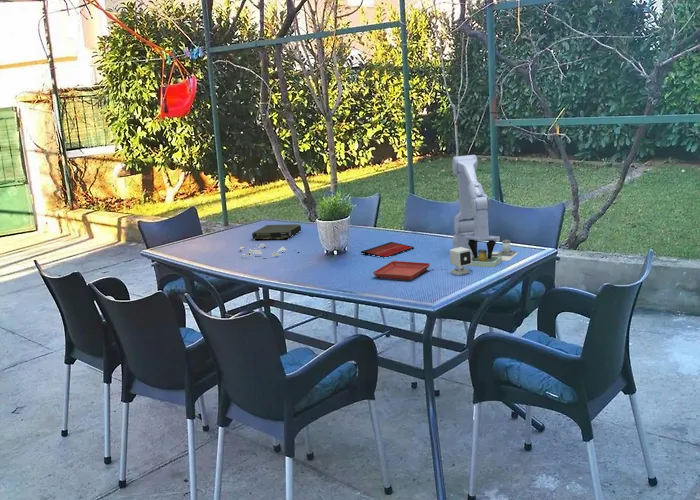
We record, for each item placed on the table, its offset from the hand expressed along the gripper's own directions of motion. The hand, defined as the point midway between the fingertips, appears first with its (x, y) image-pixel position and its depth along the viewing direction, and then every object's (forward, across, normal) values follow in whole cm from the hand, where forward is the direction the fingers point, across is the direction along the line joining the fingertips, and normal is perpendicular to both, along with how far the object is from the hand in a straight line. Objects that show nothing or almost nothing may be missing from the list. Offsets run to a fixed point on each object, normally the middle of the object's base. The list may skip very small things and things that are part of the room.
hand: (482, 258), depth 287 cm
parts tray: (+3, 0, 0) cm, 3 cm away
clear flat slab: (+4, -115, +2) cm, 115 cm away
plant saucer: (+4, -28, -19) cm, 34 cm away
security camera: (+4, -5, -12) cm, 14 cm away
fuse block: (+3, +3, +12) cm, 13 cm away
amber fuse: (+3, 0, 0) cm, 3 cm away
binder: (+4, -52, +16) cm, 55 cm away
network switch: (+4, -132, +37) cm, 137 cm away
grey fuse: (+2, +5, +16) cm, 17 cm away
